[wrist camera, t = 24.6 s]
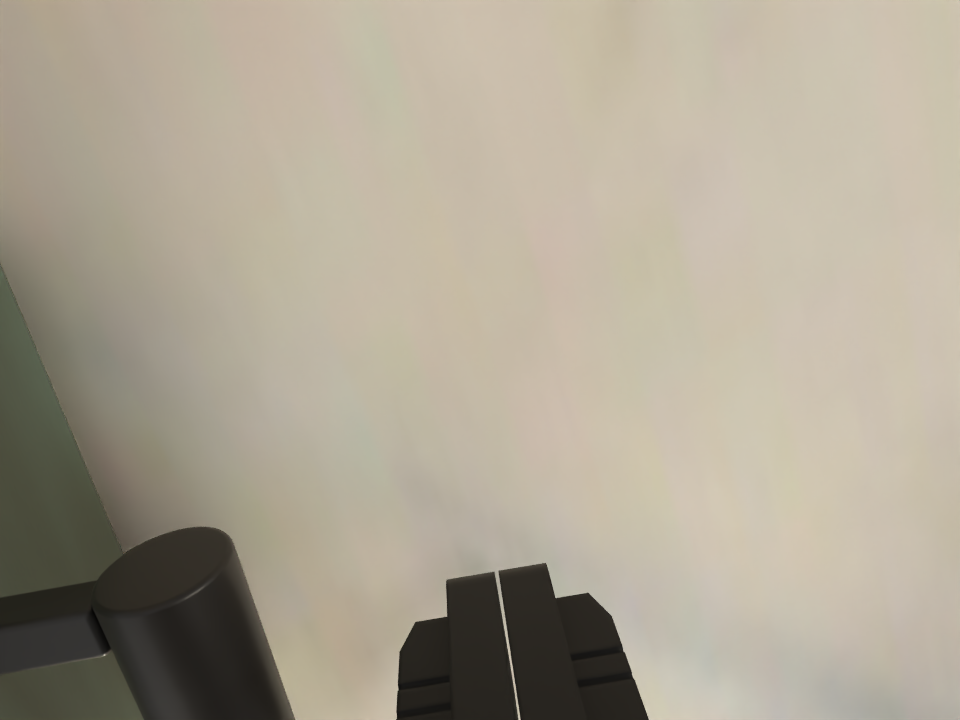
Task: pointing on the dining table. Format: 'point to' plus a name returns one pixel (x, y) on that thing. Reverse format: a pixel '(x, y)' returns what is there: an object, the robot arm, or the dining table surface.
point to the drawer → (109, 585)
